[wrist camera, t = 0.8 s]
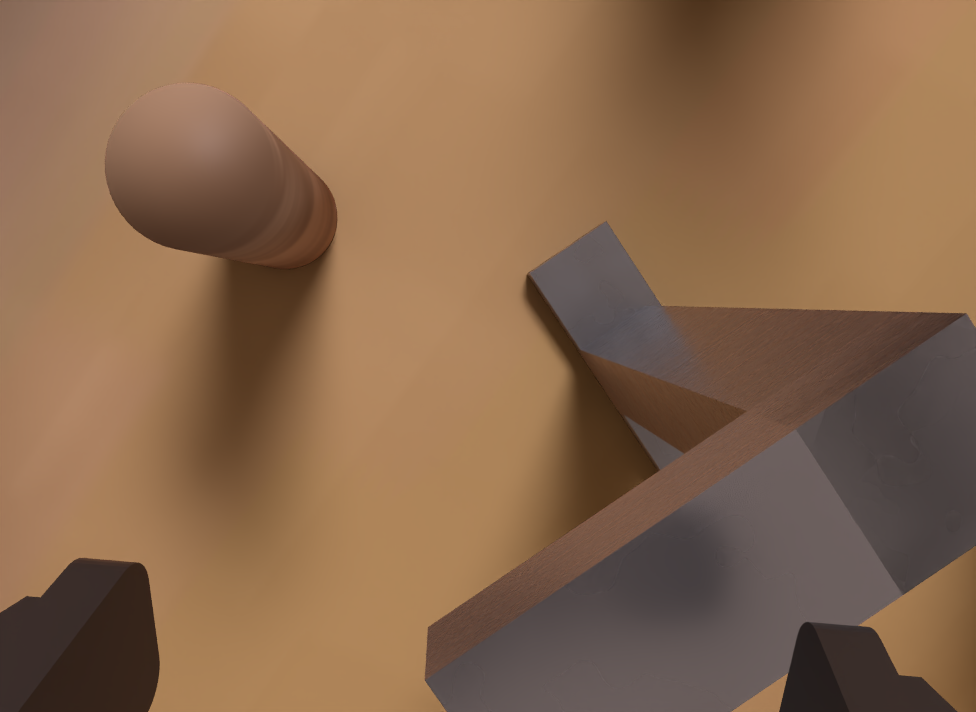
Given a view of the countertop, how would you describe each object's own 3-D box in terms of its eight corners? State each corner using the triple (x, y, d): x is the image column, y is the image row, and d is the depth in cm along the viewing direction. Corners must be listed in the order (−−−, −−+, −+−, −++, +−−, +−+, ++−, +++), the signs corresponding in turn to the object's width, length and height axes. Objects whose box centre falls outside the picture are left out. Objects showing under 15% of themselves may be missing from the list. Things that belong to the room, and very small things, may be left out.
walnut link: (210, 201, 32) (71, 143, 20) (297, 142, 32) (210, 50, 20) (271, 289, 33) (169, 282, 21) (357, 231, 33) (305, 190, 21)
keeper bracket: (388, 367, 33) (286, 483, 12) (601, 223, 33) (869, 89, 12) (530, 574, 34) (667, 1022, 13) (738, 434, 34) (1214, 651, 13)
